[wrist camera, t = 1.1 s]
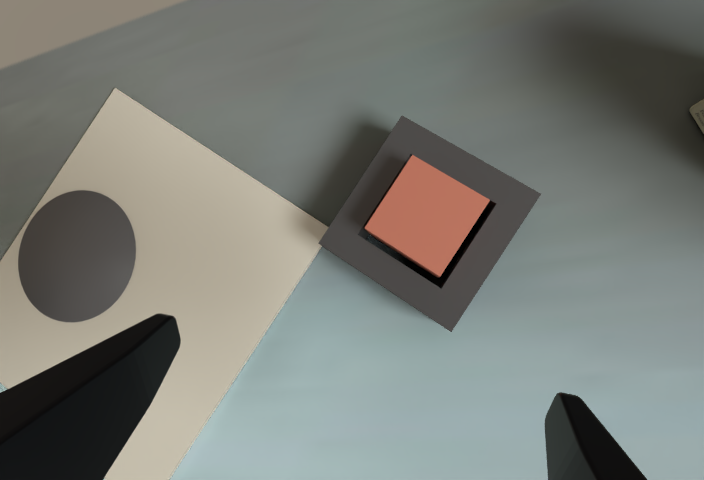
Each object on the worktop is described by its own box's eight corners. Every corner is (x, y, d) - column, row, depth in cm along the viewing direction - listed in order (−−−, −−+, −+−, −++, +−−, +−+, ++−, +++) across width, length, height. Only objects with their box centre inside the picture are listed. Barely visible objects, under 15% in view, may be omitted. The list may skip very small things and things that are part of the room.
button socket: (447, 326, 23) (451, 332, 20) (330, 248, 25) (318, 243, 22) (525, 205, 23) (541, 193, 20) (404, 136, 25) (402, 115, 22)
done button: (437, 278, 22) (440, 276, 19) (371, 235, 23) (364, 228, 20) (480, 211, 22) (490, 200, 19) (413, 171, 23) (412, 154, 20)
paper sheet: (147, 512, 25) (143, 516, 24) (-45, 336, 28) (-51, 336, 28) (332, 230, 25) (331, 229, 24) (118, 89, 28) (114, 87, 28)
